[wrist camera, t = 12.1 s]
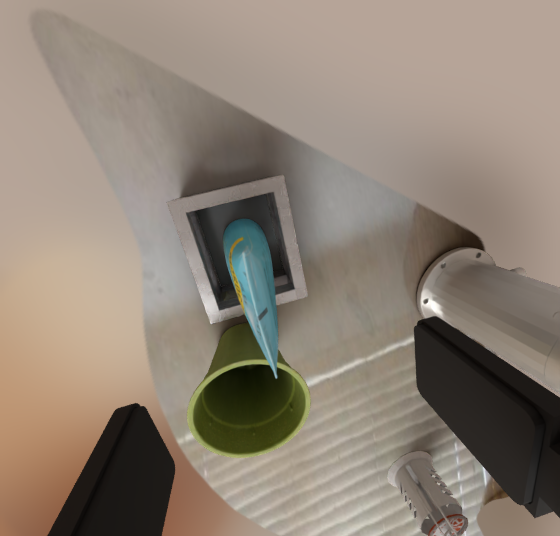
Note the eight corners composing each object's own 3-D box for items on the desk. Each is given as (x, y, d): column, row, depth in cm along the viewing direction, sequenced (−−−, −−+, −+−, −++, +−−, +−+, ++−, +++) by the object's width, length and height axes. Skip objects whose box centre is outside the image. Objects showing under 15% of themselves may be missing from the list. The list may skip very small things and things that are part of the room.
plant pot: (293, 306, 35) (320, 360, 25) (281, 379, 38) (300, 453, 28) (201, 302, 32) (188, 361, 22) (197, 380, 36) (184, 463, 25)
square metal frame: (272, 176, 29) (283, 174, 23) (293, 275, 34) (307, 296, 28) (180, 197, 28) (166, 202, 22) (214, 297, 33) (211, 324, 26)
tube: (213, 215, 29) (189, 270, 12) (253, 202, 30) (291, 235, 12) (235, 274, 32) (243, 391, 14) (272, 261, 32) (326, 360, 15)
